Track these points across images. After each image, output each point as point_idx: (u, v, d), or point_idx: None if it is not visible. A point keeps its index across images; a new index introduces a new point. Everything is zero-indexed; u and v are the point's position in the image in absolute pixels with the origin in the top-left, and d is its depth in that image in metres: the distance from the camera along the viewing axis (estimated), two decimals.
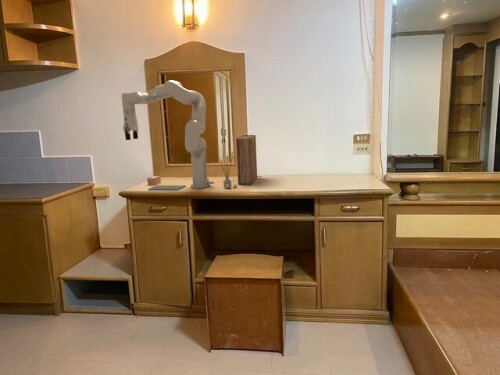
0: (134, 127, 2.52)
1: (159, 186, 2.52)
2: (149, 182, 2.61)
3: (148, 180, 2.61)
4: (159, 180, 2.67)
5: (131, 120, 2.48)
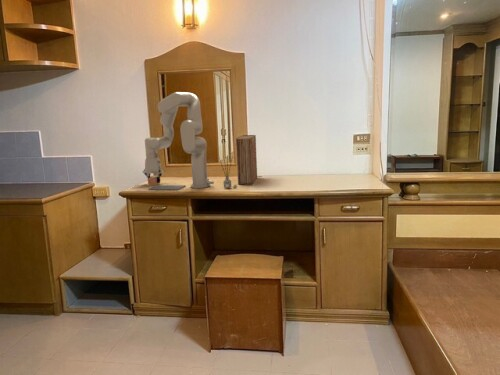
0: None
1: (159, 186, 2.52)
2: (149, 182, 2.61)
3: (148, 180, 2.61)
4: None
5: None
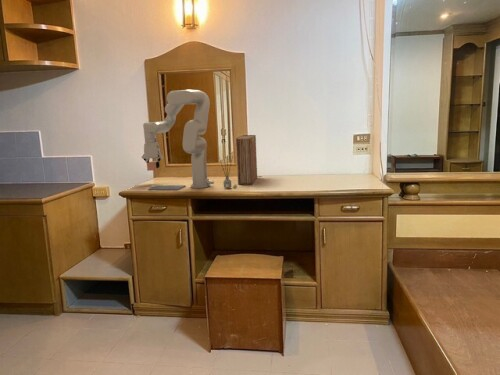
0: None
1: (159, 186, 2.52)
2: (148, 167, 2.59)
3: (148, 165, 2.59)
4: None
5: None
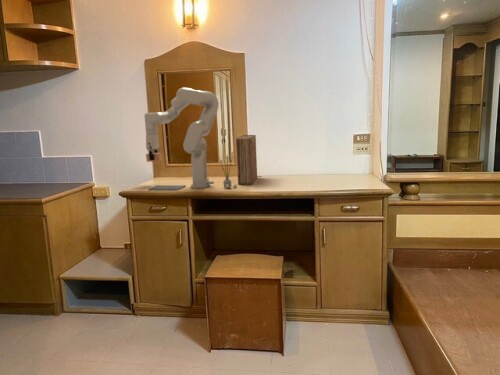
0: None
1: (159, 186, 2.52)
2: (159, 157, 2.57)
3: (159, 155, 2.56)
4: None
5: None
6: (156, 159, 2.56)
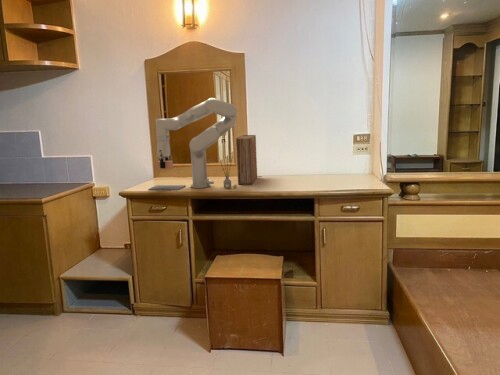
0: None
1: (159, 186, 2.52)
2: (170, 165, 2.43)
3: (170, 163, 2.43)
4: None
5: None
6: (167, 167, 2.43)
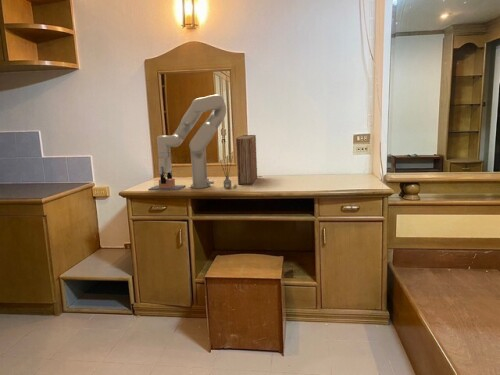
0: None
1: None
2: (172, 184, 2.46)
3: (172, 182, 2.45)
4: None
5: None
6: (169, 186, 2.45)
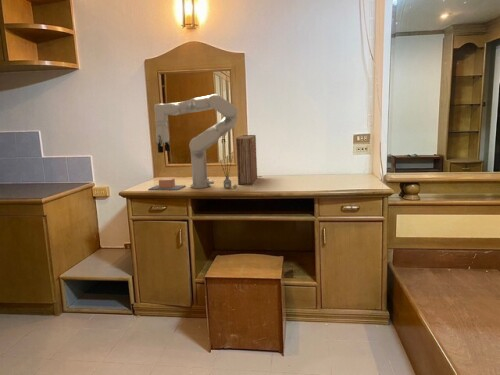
0: None
1: None
2: (172, 184, 2.46)
3: (172, 182, 2.45)
4: None
5: None
6: (169, 186, 2.45)
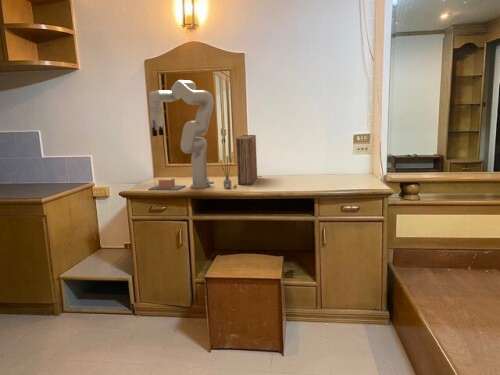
0: None
1: None
2: (172, 184, 2.46)
3: (172, 182, 2.45)
4: None
5: None
6: (169, 186, 2.45)
